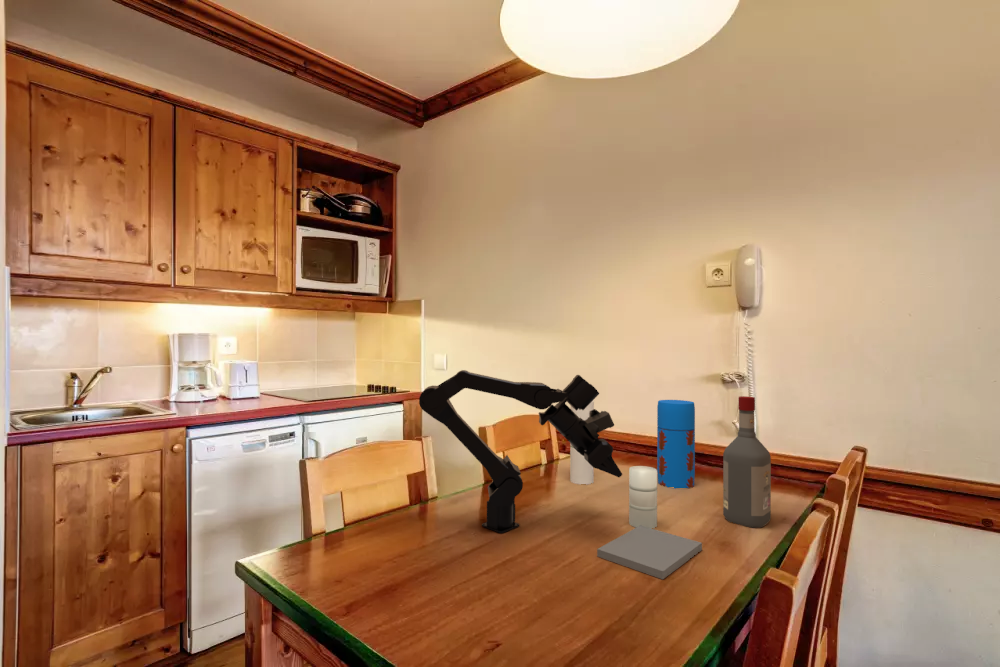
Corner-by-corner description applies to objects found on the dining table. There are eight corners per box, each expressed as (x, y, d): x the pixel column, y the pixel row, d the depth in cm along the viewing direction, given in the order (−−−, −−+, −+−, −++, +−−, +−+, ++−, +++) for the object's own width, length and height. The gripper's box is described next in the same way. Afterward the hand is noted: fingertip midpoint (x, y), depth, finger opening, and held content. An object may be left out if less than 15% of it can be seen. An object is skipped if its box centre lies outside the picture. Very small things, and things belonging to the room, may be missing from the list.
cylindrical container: (593, 485, 151) (593, 402, 151) (569, 483, 152) (569, 401, 153) (593, 478, 158) (594, 399, 158) (570, 477, 159) (571, 398, 160)
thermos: (649, 481, 156) (649, 400, 156) (675, 477, 160) (675, 399, 161) (675, 490, 146) (675, 404, 146) (702, 486, 150) (702, 403, 151)
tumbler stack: (649, 531, 115) (649, 474, 115) (624, 524, 119) (624, 469, 119) (661, 524, 119) (662, 469, 120) (637, 517, 124) (637, 464, 124)
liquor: (773, 520, 122) (773, 397, 122) (760, 530, 116) (760, 400, 116) (734, 511, 129) (734, 394, 129) (720, 520, 122) (720, 397, 123)
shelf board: (662, 579, 92) (662, 571, 92) (597, 556, 101) (597, 548, 101) (701, 549, 105) (701, 542, 105) (640, 531, 114) (640, 525, 114)
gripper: (603, 405, 110) (652, 455, 110) (583, 395, 128) (625, 438, 129) (567, 441, 109) (617, 492, 110) (553, 426, 128) (595, 469, 128)
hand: (614, 470), depth 119 cm, fingers open, 9 cm apart
